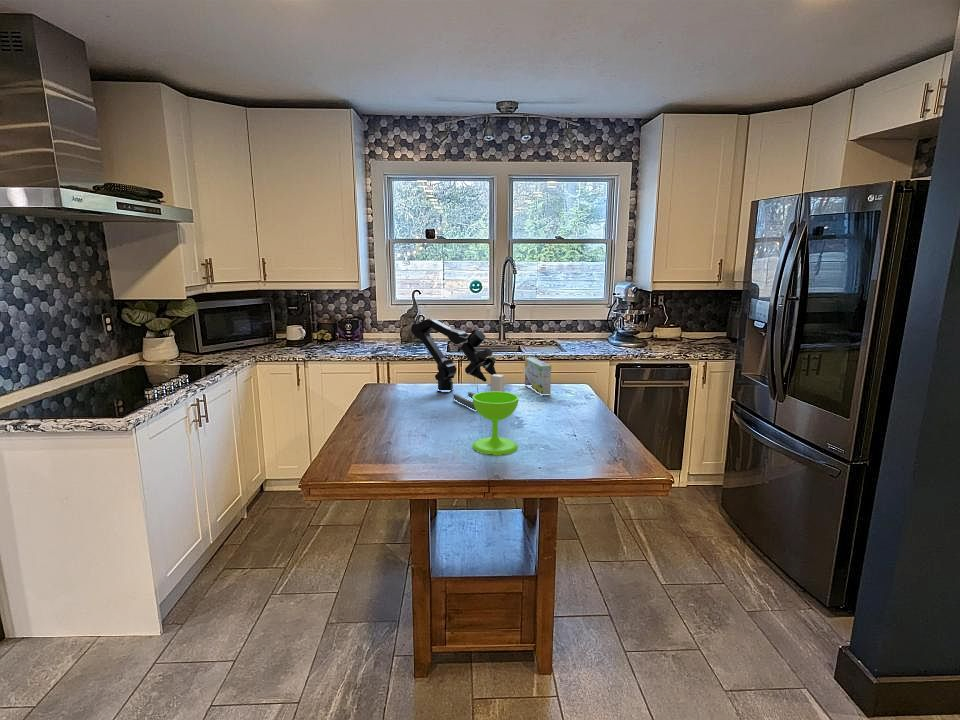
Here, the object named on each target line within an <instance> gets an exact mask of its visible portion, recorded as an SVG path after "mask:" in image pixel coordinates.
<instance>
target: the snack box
mask: <svg viewBox="0 0 960 720" xmlns="http://www.w3.org/2000/svg"><path fill="white" fill-rule="evenodd" d="M551 373H552V365H550V364H548V363H546V362H544V361H542V360H540V359H537V358H536V357H535V356H533V357H532V356H531V357H525V358H524V386H525V385H532V386H531V387H532V388H533V389H535V390H536V391H537V392H539V393H541V394H550V395H551V385H552V384H551V383H552V382H551V379H552V374H551Z"/></svg>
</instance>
